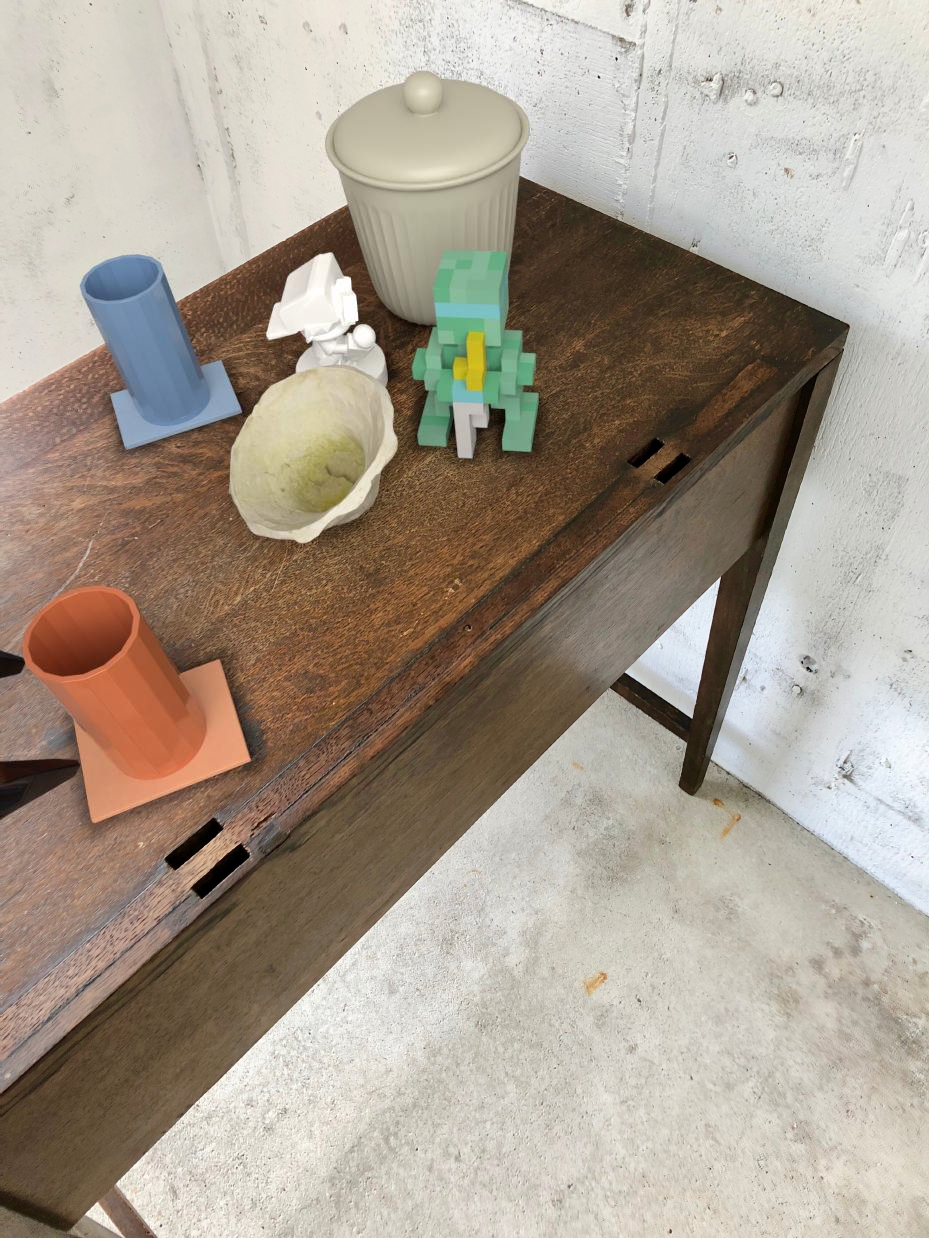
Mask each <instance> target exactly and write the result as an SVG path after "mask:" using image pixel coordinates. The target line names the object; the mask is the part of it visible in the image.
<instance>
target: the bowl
mask: <svg viewBox="0 0 929 1238" xmlns="http://www.w3.org/2000/svg"><path fill="white" fill-rule="evenodd" d="M393 405H394V404H393V403H392V399H391V396H390V393H389V391H388V389H387V387H386V388H385V387H384V386H383V385H382V384H381V383H379V382H378V380H376V379H375V378H374V377H372V376H371V375H368V374H366V373H365V372H363V371H361V370H359V369H357V368H356V367H353V366H350V365H327V366H321V367H316V368H311V369H307V370H305V371H302V372H298V373H296V372H295V373H293V374H291V375H289V376H288V377H286V378H284V379H282V380H279V381H278V382H275V383H273V384H271V385H270V386H269V387H268V388H267V389H266V390H265V392H264V393H262V395H261V396H260V398H259V400H258V402H257V403H256V404H255V405H254V407H253V410H252V412H251V414H249V415H248V417H247V418H246V419H245V422H244V423H243V425H242V427H241V429H240V431H239V434H238V435H237V436H236V439H235V441H234V443H233V445H232V446H231V451H230V465H229V488H228V494H230V495H231V499H232V501H233V503H234V505H235V506H236V507H237V510H238V513H239V514H240V517H241V518H242V519H243V520H244V522H245V523H246V525H247V527H248V529H249V530H250V532H252V534H253V535H256V536H258V537H266V538H270V539H274V540H288V541H295V542H297V543H299V544H307V543H309V542H311V541H312V540H314V539H315V538H317V537H319V535H320V534H321V533H322V532H323V531H325V530H328V529H331V528H333V526H341V525H343V524H347V523H350V522H351V521H353V520H356V519H358V518H359V517H361V515H363V514H364V513H365V512H366V511H368V510H369V509H370V508H371V507H372V506H373V505H374V503H375V501H376V499H377V497H378V494H379V491H380V482H381V481H380V480H381V476H382V470H383V469H384V468H385V467H386V466H387V465H388V463H389V462H391V460H392V459H393V458H394V456H395V455H396V453H397V451H398V446H399V441H398V437H397V435H396V433H395V430H394V420H395V411H394V410H395V409H394V406H393Z"/></svg>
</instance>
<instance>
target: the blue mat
mask: <svg viewBox="0 0 929 1238" xmlns="http://www.w3.org/2000/svg"><path fill="white" fill-rule="evenodd" d="M200 367H201V369H202V372H203V375H204V377H205V380H206V382H207V385H208V388H209V391H210V400H209V403H208V404H207V406H206V408H205V409H204V410H203V411H202V412H201V413H200V414H199V415H197V416H196V417H194V418H192V419H191V420H188V421H186V422H184V423H180V424H177V425H170V426H160V425H154V424H151V423H149V422H147V421H146V420H144V419H143V418H142V417H141V415H140V414H139V412H138V411H137V408H136V406H135V404H134V402H133V400H132V398H131V396H130V394H129V392H128V390H127V388H126V389H122V390H119V391H116V392H112V393H110V394H109V395H110V399H111V402H112V403H111V404H112V406H113V410H114V414H115V417H116V421H117V424H118V427H119V432H120V435H121V439H122V442H123V445H124V448H125V450H126V451H128V450H132V449H135V448H137V447H141V446H144V445H147V444H150V443H153V442H157V441H160V440H162V439H165V438H169V437H173V436H175V435H177V434H178V435H179V434H181V433H184V432H187V431H190V430H193V429H196V428H199V427H202V426H206V425H209V424H213V423H215V422H218V421H221V420H225V419H227V418H231V417H234V416H237V415H240V414H242V413H243V410H242V407H241V405H240V402H239V400H238V397H237V395H236V393H235V390H234V388H233V386H232V382H231V380H230V377H229V375H228V373H227V371H226V368H225V366H224V364H223V361H222V359H219V360H215V361H212V362H210V363H205V364H202V365H200Z"/></svg>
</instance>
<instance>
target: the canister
mask: <svg viewBox="0 0 929 1238" xmlns="http://www.w3.org/2000/svg"><path fill="white" fill-rule="evenodd" d="M530 132H531V125H530V120H529V118H528V115H527V113H526V112H525V110H524V109H523V108H522V107H521V106H520V105H519V104H518V103H517V102H516V101H514V100H513V99H512V98H510V97H508V96H506V95H504V94H502V93H500V92H498V91H496V90H495V89H492V88H490V87H488V86H486V85H483V84H480V83H476V82H472V81H467V80H460V79H451V78H440V77H439V76H438V75H437V74H435V73H434V72H432V71H430V70H417V71H415V72H413V73H411V74H409V75H408V76H407V77H406V79H405V80H404V82H401V83H397V84H393V85H389V86H385V87H383V88H381V89H378V90H376V91H373V92H372V93H369V94H367V95H365V96H363V97H362V98H360V99H359V100H358V101H356V102H355V103H353V104H352V105H351V106H350V107H348V109H346V110H345V111H343V112H342V113H341V114H340V115H339V116H337V118H336V119H335V120H334V121H333V122H332V123H331V125H330V126H329V127H328V130H327V131H326V135H325V139H324V149H325V153H326V157H327V158H328V160H329V161H330V163H331V164H332V166H333V167H334V168H335V169H336V170H337V171H338V175H339V180H340V182H341V186H342V190H343V193H344V196H345V199H346V203H347V205H348V206H347V207H348V210H349V213H350V216H351V219H352V224H353V227H354V230H355V234H356V237H357V240H358V243H359V247H360V251H361V252H362V256H363V259H364V263H365V265H366V266H365V267H366V269H367V272H368V275H369V277H370V280H371V283H372V286H373V288H374V290H375V292H376V295H377V297H378V298H379V300H380V301H381V303H382V304H383V305H384V306H385V308H386V309H388V310H389V311H390V312H391V313H392V314H393V315H395V316H396V317H399V318H400V319H401V320H405V321H407V322H409V323H414V324H417V325H419V326H420V325H425V326H427V327H428V326H433V327H437V321H436V312H435V302H434V293H433V286H434V283H435V279H436V276H437V273H438V269H439V266H440V262H441V259H442V255H443V252H444V250H460V251H495V252H507V262H508V273H509V272H510V267H511V259H512V252H513V243H514V235H515V227H516V226H515V225H516V217H517V206H518V205H517V203H518V194H519V193H518V192H519V183H520V173H521V162H522V161H521V160H522V151H523V150H524V148H525V147H526V145H527V143H528V140H529V137H530V134H531V133H530Z"/></svg>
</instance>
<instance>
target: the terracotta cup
mask: <svg viewBox="0 0 929 1238" xmlns="http://www.w3.org/2000/svg"><path fill="white" fill-rule="evenodd" d="M154 631H155V630H154V629H153V628H152V627H151V625H150V623H149V622H148V620H147V619H146V616H144V614H143V612H142V611H141V609H140V607H139V606H138V604H137V603H136V601H135V600H134V598H132V597H131V596H129V595H128V594H127V593H125V592H124V591H123V590H122V589H120V588H116V587H111V586H107V585H101V584H98V585H90V586H82V587H77V588H74V589H72V590H70V591H67V592H65V593H63V594H60V595H58V596H56V597H55V598H53V599H52V600H51V601H50V602H48V603H47V604H46V605H44V606H43V607H41V609H39V610H38V611H37V612H36V614H35V616H34V617H33V618H32V620H31V621H30V622H29V624H28V625H27V627H26V628H25V630H24V635H23V639H22V643H21V648H20V649H21V654H22V658H23V659H24V661H25V666H26V667H27V669H28V670H29V671H30V672H31V674H32V675H34V677H35V678H36V679H37V680H38V681H39V682H40V683H41V685H42V686H43V687H44V688H45V689H46V690H47V691H48V692H49V694H50V695H51V696H52V698H54V699H55V700H56V701H57V703H58V704H59V705H60V706H61V707H62V709H64V710H65V712H66V713H67V714H68V716H70V717H71V719H72V720H73V719H74V720H75V722H76V723H77V724H78V725H79V726H80V727H81V728H82V729H83V731H84V732H85V733H86V734H87V735H88V736H89V737H90V738H91V740H92V741H93V742H94V743H95V744H96V745H97V746H98V748H99V749H100V750H101V751H102V752H103V753H104V754H105V755H106V757H107V758H108V759H109V760H110V761H111V762H112V763H113V764H114V765H115V766H116V767H117V768H118V769H119V770H120V771H121V772H123V773H124V774H126V775H127V776H129V777H132V778H135V779H140V780H154V779H159V778H163V777H166V776H169V775H171V774H173V773H175V772H177V771H179V770H180V769H182V768H183V767H184V766H186V765H187V764H188V763H189V762H190V761H191V760H192V759H193V758H194V757H195V755H196V754H197V753H198V751H199V750H200V748H201V746H202V744H203V742H204V738H205V734H206V719H205V716H204V713H203V711H202V709H201V708H200V705H199V703H198V702H197V700H196V698H195V697H194V695H193V694H192V692H191V690H190V689H189V687H188V686H187V684H186V682H185V681H184V679H183V678H182V676H181V674H180V673H181V672H180V671H179V670H178V668H177V666H176V665H175V663H174V661H173V660H172V658H171V656H170V655H169V654H168V652H167V651H166V649H165V647H164V645H163V644H162V642H161V641H160V639H159V637H158V636H157V634H156V633H155V632H154ZM74 720H73V721H74Z"/></svg>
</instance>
